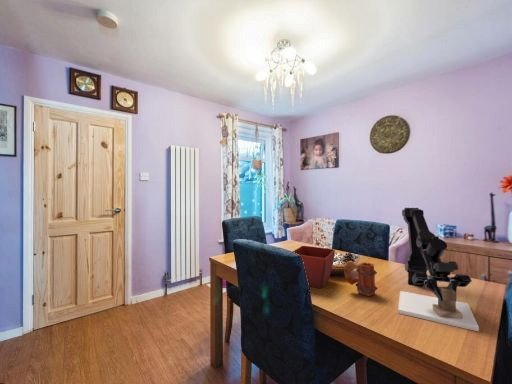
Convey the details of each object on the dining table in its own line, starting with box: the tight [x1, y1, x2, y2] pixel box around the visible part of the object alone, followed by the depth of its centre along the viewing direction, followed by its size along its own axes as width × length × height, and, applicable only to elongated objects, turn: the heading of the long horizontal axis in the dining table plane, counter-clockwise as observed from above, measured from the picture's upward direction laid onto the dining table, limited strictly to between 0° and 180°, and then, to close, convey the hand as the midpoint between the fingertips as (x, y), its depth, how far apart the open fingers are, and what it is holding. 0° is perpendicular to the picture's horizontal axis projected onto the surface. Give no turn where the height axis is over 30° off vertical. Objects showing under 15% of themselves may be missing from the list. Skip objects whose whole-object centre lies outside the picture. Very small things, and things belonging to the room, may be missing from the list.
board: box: [397, 290, 480, 332], centre depth 98 cm, size 24×20×2 cm
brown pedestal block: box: [433, 286, 462, 319], centre depth 92 cm, size 7×6×10 cm
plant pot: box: [292, 245, 336, 289], centre depth 129 cm, size 19×19×17 cm
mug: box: [343, 260, 378, 297], centre depth 115 cm, size 15×8×15 cm, turn 71°
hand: (448, 301), depth 91 cm, fingers closed on brown pedestal block, 4 cm apart
